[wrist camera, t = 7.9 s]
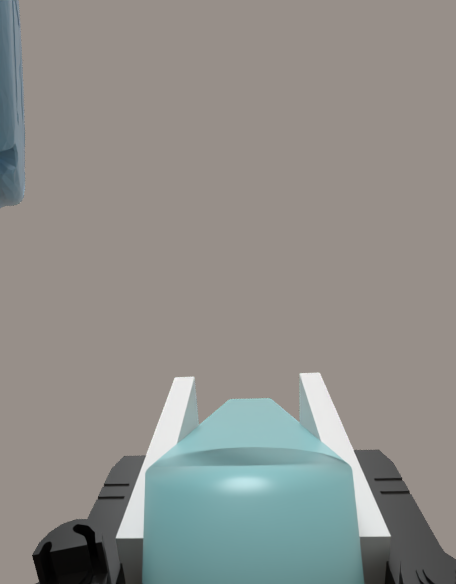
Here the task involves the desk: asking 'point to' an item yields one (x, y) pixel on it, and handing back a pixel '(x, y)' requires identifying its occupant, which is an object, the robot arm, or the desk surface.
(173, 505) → the teal rounded-top bar
